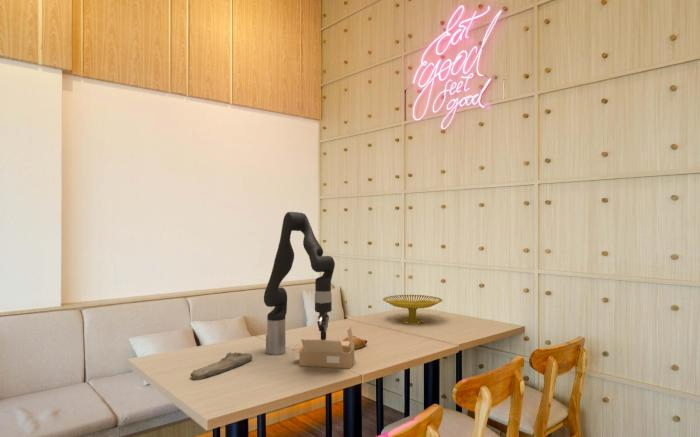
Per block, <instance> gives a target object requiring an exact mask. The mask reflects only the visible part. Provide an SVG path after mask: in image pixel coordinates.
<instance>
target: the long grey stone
mask: <svg viewBox="0 0 700 437" xmlns="http://www.w3.org/2000/svg"><path fill="white" fill-rule="evenodd" d="M252 359H253V354H252V353H249V352H248V353H242V352H231V351H230V352H227V353H226V356H225V357H223V358H221V359H220V360H219V361H217V362H214V363H211V364H208V365H206V366H203V367H200V368H198V369H193V371H192V372H191V373H190V377H191V380H193V381H200V379H201V380H203V379H206V378H210V377H212V376H216V374H217V375H220V374H222V373H225V372H228V371H230V370H231V369H234V368H239V367H240V366H243V365H245V364H247V363H249V362H250V361H252Z"/></svg>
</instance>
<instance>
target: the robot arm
mask: <svg viewBox="0 0 700 437" xmlns="http://www.w3.org/2000/svg"><path fill="white" fill-rule="evenodd" d="M292 232H301V233H302V234H303V235H304V236H303V239H302V240H303V241H302V245H303V248H304V250H305V252H306V253H307V255H308V258H309V262H310V267H311V269H312V270H313V271H314V272H315V273H323V274H322V275H321V276H319V277H317V278H315V282H314V283H315V286H314V287H315V290H314V291H315V293H314V312H316V313H318V314H319V315H318V316H317V320H318V321H317V328H318V332H320V340H327V331H328V328H329V327H328V326H329V319H330V316H329V314H328V313H331V312H332V311H333V309H332V305H333V304H332V301H333V300H332V298H333V297H332V279H333V275H334V271H335V267H336V262H335V260H334V259H335V258H333V256H331V255H323V254H324V250H323V247H322V246H321V244H320V243H319V242H318V240H317V238H316V236H315V233H314V231H313V228H312V226H311V223H310V221H309V219H308V217H307V215H306V213H303V212H297V211H287V212H286V213H285V214H284V216H283V221H282V225H281V232H280V238H279V242H278V247H277V251H276V254H275V258H274V261H273V266H272V269H271V273H270V277H269V280H268V283H267V285H266V288H265V290H264V294H263V302H264V304H265V306H266V307H268V308H271V307H272V308H273V309H272V310H271V311H269V313H268V314H267V316H266V319H267V321H266V324H267V327H266V328H267V330H266V334H265V354H268V355H274V356H275V355H276V356H278V355H283V354H285V353H286V350H287V349H286V315H287V312H288V311H287V310H288V294H287V290H286V289H285V288H284V287H280V284H281V283H282V281H283V280H284V278H286V276H287V275H288V274H289V273H290V271H291V270H292V268H293V264H294V259H295V252H294V249H293V246H292V243H291V234H292Z"/></svg>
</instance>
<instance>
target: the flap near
mask: <svg viewBox="0 0 700 437" xmlns="http://www.w3.org/2000/svg"><path fill="white" fill-rule="evenodd" d="M300 341H301V345H303V347H304V349H305V351H306V352H329V353H343V348H342V344H341V341H342V340H333V339H332V340H330V339H325V340H321V339H309V338H308V339H307V338H306V339H305V338H301V339H300Z"/></svg>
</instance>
